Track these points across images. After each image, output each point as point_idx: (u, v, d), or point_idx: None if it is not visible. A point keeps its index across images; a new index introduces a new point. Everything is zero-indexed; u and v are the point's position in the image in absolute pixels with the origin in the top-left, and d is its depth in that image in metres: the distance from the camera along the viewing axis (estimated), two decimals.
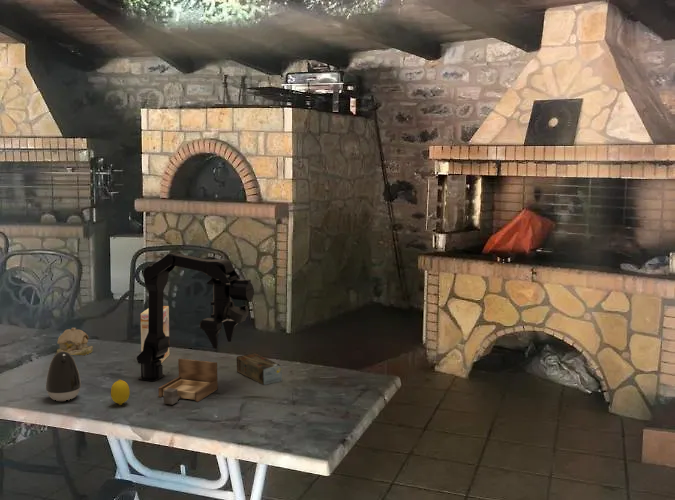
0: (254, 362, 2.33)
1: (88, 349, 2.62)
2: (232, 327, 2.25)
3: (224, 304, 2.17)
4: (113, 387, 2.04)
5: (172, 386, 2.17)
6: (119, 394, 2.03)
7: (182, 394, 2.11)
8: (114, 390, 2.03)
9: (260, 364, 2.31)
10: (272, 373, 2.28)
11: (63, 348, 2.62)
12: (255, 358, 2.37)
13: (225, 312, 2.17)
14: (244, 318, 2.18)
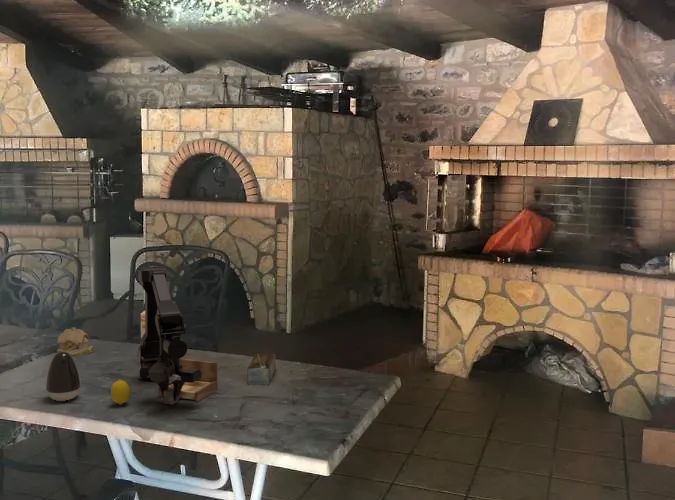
0: (255, 361, 2.34)
1: (88, 349, 2.63)
2: None
3: None
4: (113, 387, 2.04)
5: (172, 386, 2.17)
6: (119, 394, 2.03)
7: (182, 394, 2.11)
8: (114, 390, 2.03)
9: (255, 364, 2.31)
10: (257, 374, 2.26)
11: (63, 348, 2.62)
12: (263, 358, 2.38)
13: None
14: (157, 377, 1.99)
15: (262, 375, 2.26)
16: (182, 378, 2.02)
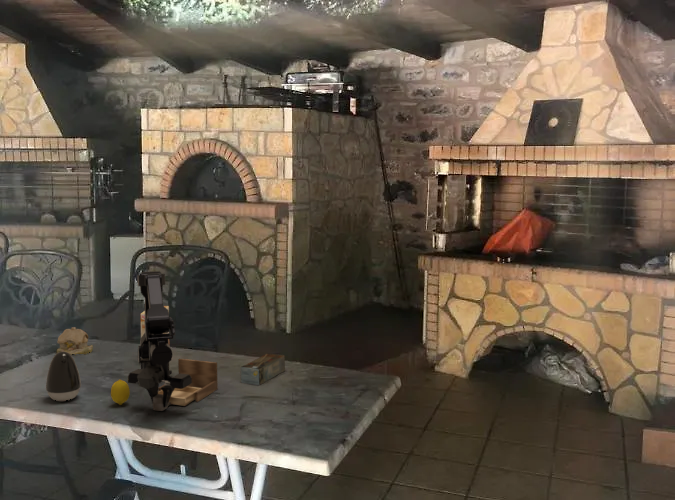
0: (256, 360, 2.35)
1: (89, 348, 2.63)
2: None
3: None
4: (113, 387, 2.04)
5: (162, 392, 2.12)
6: (119, 394, 2.03)
7: (172, 400, 2.06)
8: (114, 390, 2.03)
9: (253, 363, 2.32)
10: (249, 374, 2.27)
11: (63, 348, 2.63)
12: (267, 358, 2.37)
13: None
14: (145, 383, 1.93)
15: (253, 375, 2.26)
16: (172, 384, 1.96)
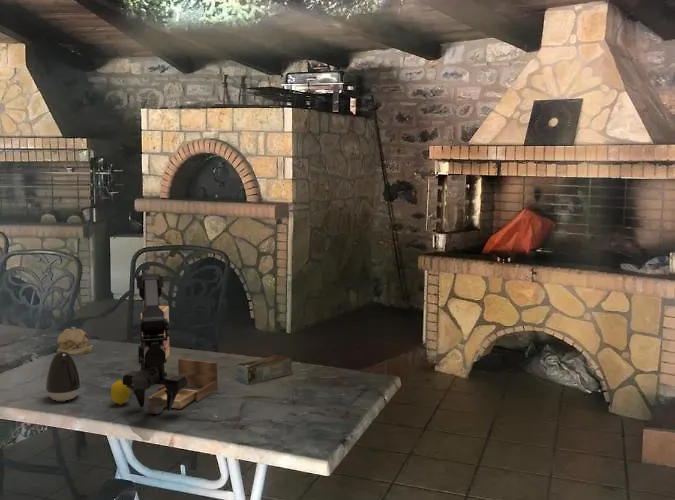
0: (259, 360, 2.36)
1: (89, 348, 2.64)
2: None
3: None
4: (113, 387, 2.04)
5: (157, 394, 2.09)
6: (119, 394, 2.03)
7: None
8: (114, 390, 2.03)
9: (252, 362, 2.33)
10: (241, 372, 2.29)
11: (63, 347, 2.63)
12: (270, 359, 2.36)
13: None
14: (140, 385, 1.90)
15: (244, 374, 2.28)
16: (167, 386, 1.94)
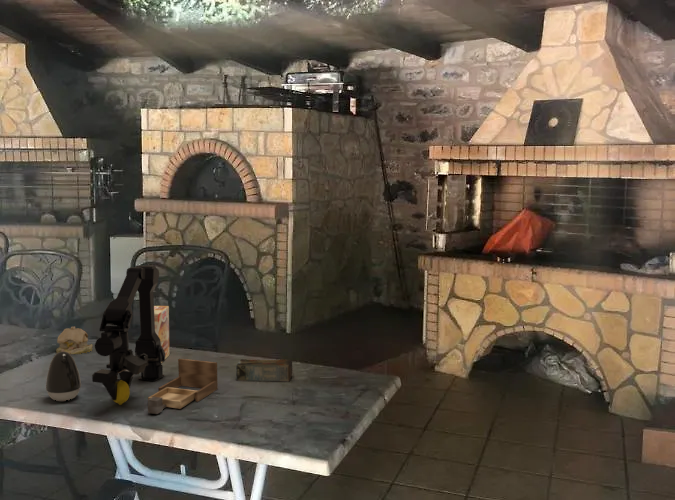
0: (263, 360, 2.35)
1: (89, 347, 2.64)
2: (129, 378, 2.08)
3: (120, 354, 2.01)
4: None
5: (157, 394, 2.09)
6: (119, 394, 2.03)
7: (167, 403, 2.03)
8: None
9: (254, 361, 2.35)
10: None
11: (63, 347, 2.63)
12: (271, 361, 2.33)
13: (121, 363, 2.01)
14: (142, 368, 2.03)
15: None
16: None
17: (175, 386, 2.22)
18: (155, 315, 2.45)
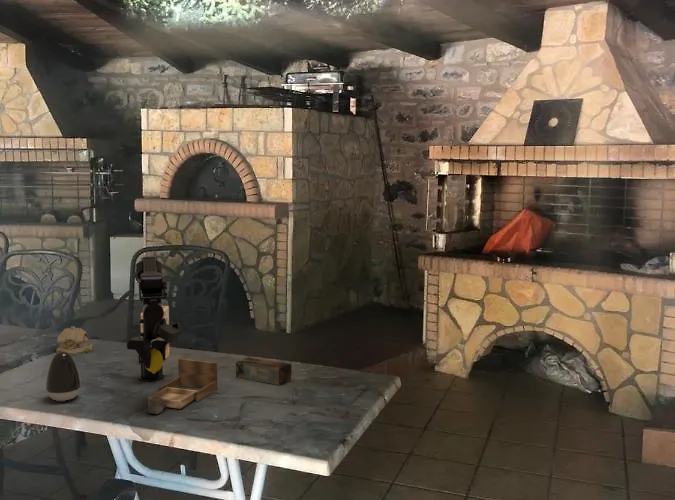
0: (265, 361, 2.35)
1: (89, 347, 2.65)
2: (162, 347, 2.09)
3: (154, 322, 2.02)
4: None
5: (157, 394, 2.09)
6: (153, 362, 2.04)
7: (167, 403, 2.03)
8: None
9: (256, 360, 2.36)
10: None
11: (63, 347, 2.64)
12: (269, 363, 2.31)
13: (155, 331, 2.02)
14: (176, 337, 2.03)
15: None
16: None
17: (175, 386, 2.22)
18: None
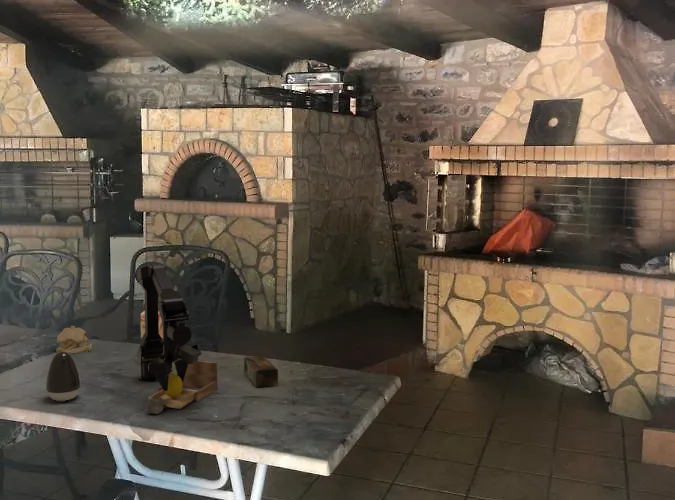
0: (265, 362, 2.34)
1: (89, 346, 2.66)
2: (184, 366, 2.12)
3: (174, 344, 2.04)
4: None
5: (157, 394, 2.09)
6: (173, 388, 2.06)
7: (167, 403, 2.03)
8: (168, 384, 2.06)
9: (262, 360, 2.36)
10: None
11: (63, 347, 2.64)
12: (261, 364, 2.30)
13: (176, 352, 2.04)
14: (196, 358, 2.06)
15: None
16: None
17: None
18: None
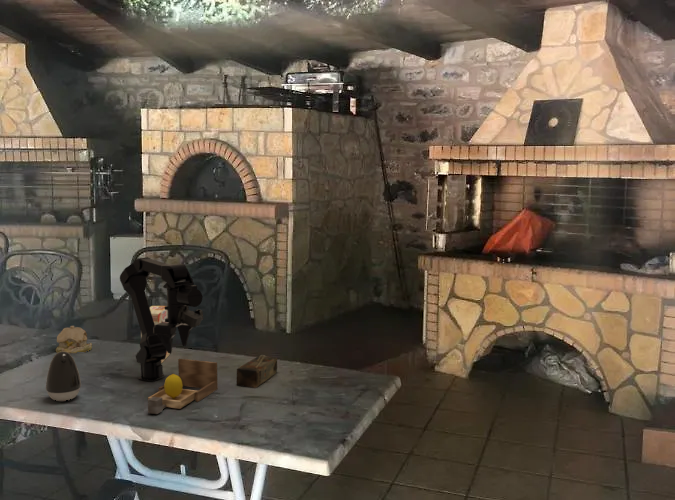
0: (264, 363, 2.32)
1: (89, 346, 2.67)
2: (187, 331, 2.25)
3: (178, 308, 2.17)
4: (167, 381, 2.07)
5: (157, 394, 2.09)
6: (173, 387, 2.06)
7: (167, 403, 2.03)
8: (168, 384, 2.06)
9: (266, 360, 2.35)
10: None
11: (63, 346, 2.65)
12: (254, 364, 2.30)
13: (179, 316, 2.16)
14: (198, 322, 2.18)
15: None
16: None
17: None
18: (155, 315, 2.45)
